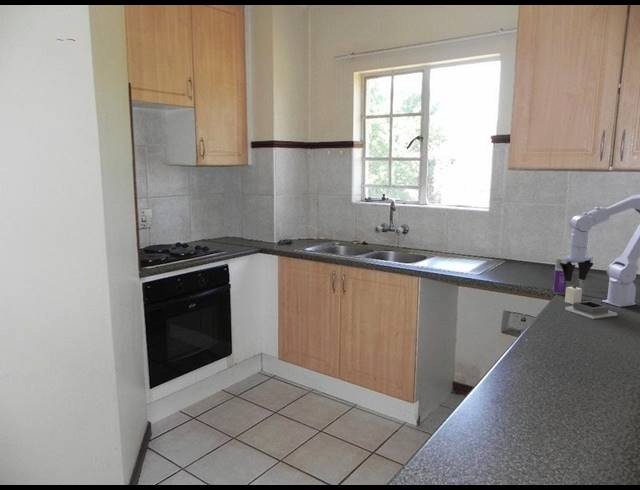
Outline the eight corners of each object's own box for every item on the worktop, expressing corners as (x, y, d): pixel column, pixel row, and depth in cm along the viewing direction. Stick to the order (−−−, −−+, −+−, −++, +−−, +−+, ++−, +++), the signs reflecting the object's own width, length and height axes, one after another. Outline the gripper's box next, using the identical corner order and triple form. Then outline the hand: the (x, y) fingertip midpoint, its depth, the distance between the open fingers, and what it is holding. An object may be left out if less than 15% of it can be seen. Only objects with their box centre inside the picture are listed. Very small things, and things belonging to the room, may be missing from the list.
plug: (572, 300, 190) (573, 283, 189) (580, 303, 187) (582, 285, 185) (564, 301, 189) (566, 284, 188) (573, 304, 185) (575, 286, 184)
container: (558, 294, 199) (561, 259, 197) (550, 291, 204) (553, 257, 201) (567, 294, 200) (570, 259, 198) (559, 291, 205) (562, 257, 203)
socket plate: (587, 306, 182) (588, 298, 182) (616, 315, 171) (617, 307, 171) (564, 309, 178) (565, 301, 178) (593, 318, 167) (594, 310, 167)
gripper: (583, 243, 190) (579, 276, 192) (556, 245, 185) (552, 279, 187) (598, 246, 184) (595, 280, 186) (571, 248, 179) (567, 283, 181)
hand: (574, 280), depth 186 cm, fingers open, 7 cm apart
